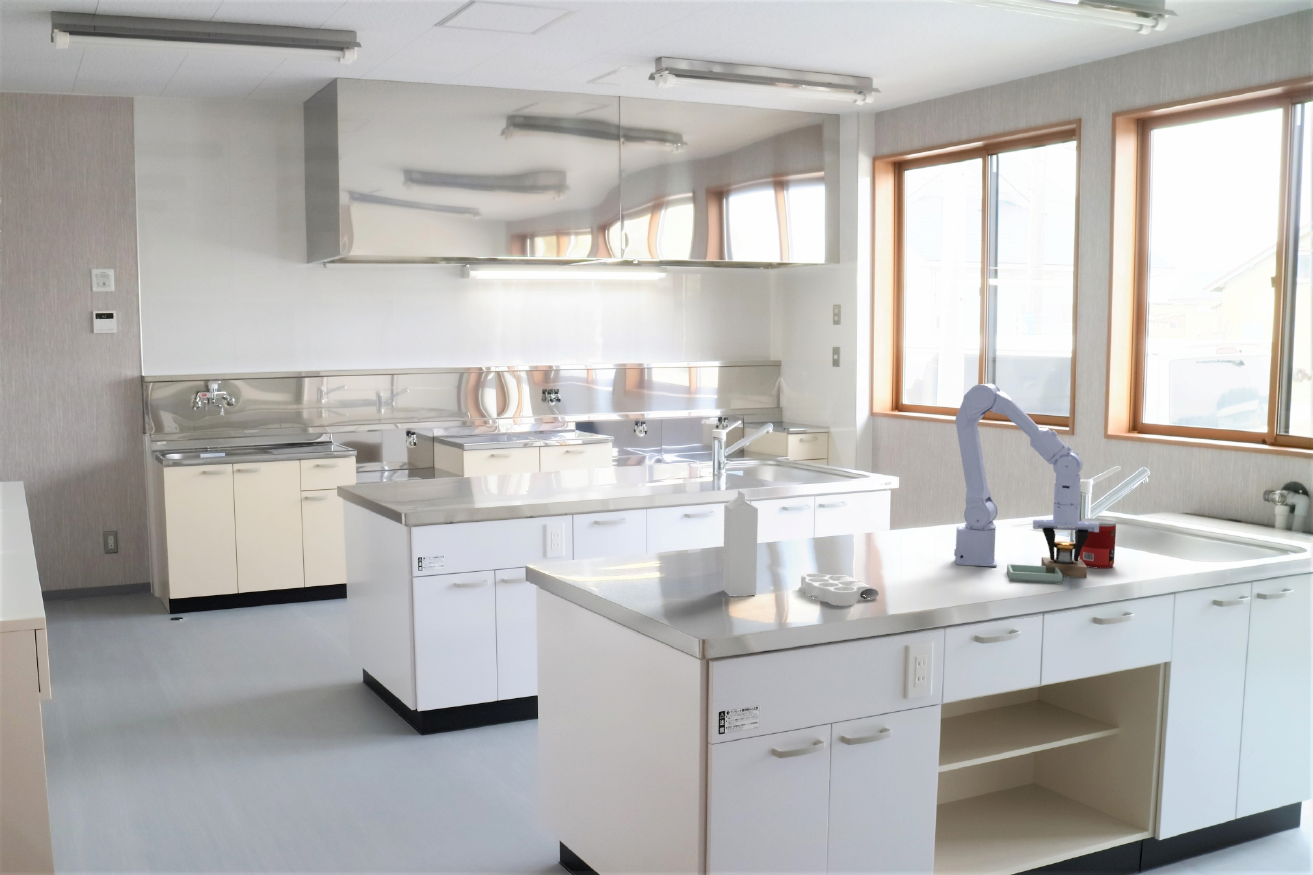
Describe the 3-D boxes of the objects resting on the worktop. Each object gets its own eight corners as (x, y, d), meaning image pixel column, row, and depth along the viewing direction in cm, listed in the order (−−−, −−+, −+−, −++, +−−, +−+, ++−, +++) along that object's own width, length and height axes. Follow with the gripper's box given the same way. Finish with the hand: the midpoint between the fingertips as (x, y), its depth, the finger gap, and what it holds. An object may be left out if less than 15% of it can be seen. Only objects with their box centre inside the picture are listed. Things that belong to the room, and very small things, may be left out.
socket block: (1045, 575, 254) (1046, 564, 253) (1041, 567, 262) (1041, 557, 262) (1086, 577, 252) (1086, 566, 251) (1080, 569, 260) (1081, 559, 260)
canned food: (1116, 569, 261) (1119, 524, 260) (1081, 567, 263) (1084, 522, 261) (1110, 562, 268) (1112, 519, 267) (1076, 561, 270) (1078, 517, 269)
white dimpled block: (886, 604, 226) (823, 609, 221) (844, 585, 243) (785, 589, 238) (886, 588, 225) (823, 593, 221) (845, 570, 242) (785, 574, 238)
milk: (749, 589, 236) (752, 489, 234) (756, 596, 230) (759, 493, 228) (722, 590, 235) (724, 489, 233) (728, 596, 229) (731, 493, 227)
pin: (1053, 573, 255) (1055, 544, 254) (1051, 569, 260) (1052, 540, 259) (1075, 575, 254) (1076, 545, 253) (1072, 570, 259) (1074, 541, 258)
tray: (1010, 580, 247) (1010, 572, 247) (1006, 572, 256) (1007, 563, 256) (1062, 583, 245) (1062, 575, 244) (1056, 575, 254) (1057, 566, 253)
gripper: (1036, 504, 253) (1033, 561, 254) (1102, 507, 250) (1099, 565, 251) (1032, 500, 260) (1030, 555, 261) (1097, 502, 257) (1094, 559, 258)
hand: (1063, 560), depth 257 cm, fingers closed on pin, 5 cm apart
